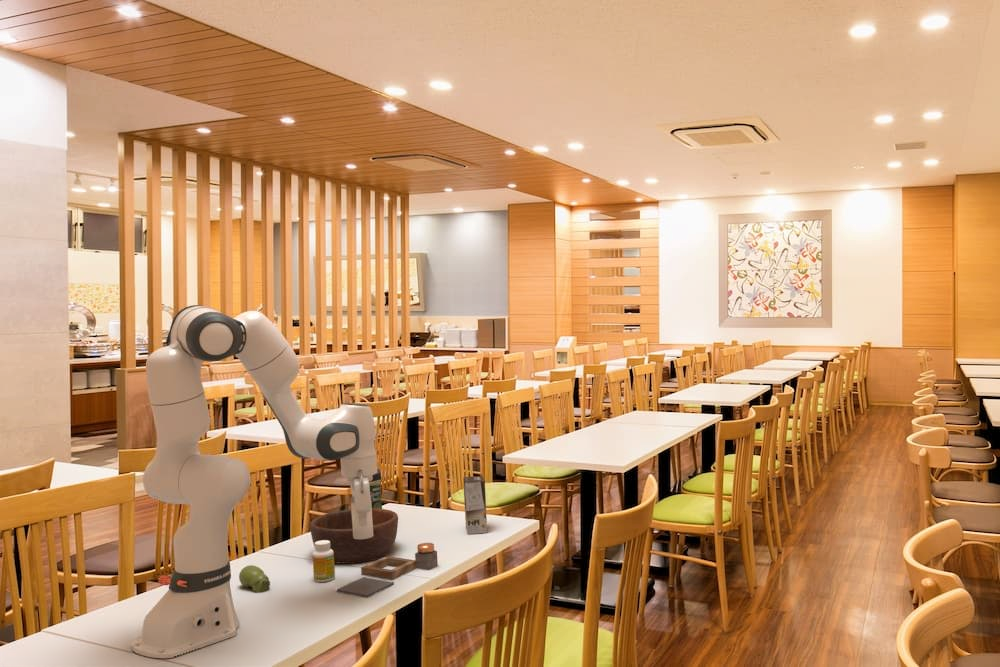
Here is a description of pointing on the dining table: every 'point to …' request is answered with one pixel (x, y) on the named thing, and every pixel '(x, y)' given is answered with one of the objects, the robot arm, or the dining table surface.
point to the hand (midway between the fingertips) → (362, 522)
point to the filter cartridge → (358, 530)
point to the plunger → (425, 548)
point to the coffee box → (475, 504)
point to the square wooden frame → (399, 565)
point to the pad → (365, 587)
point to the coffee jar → (376, 490)
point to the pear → (254, 578)
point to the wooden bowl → (341, 535)
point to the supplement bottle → (323, 562)
